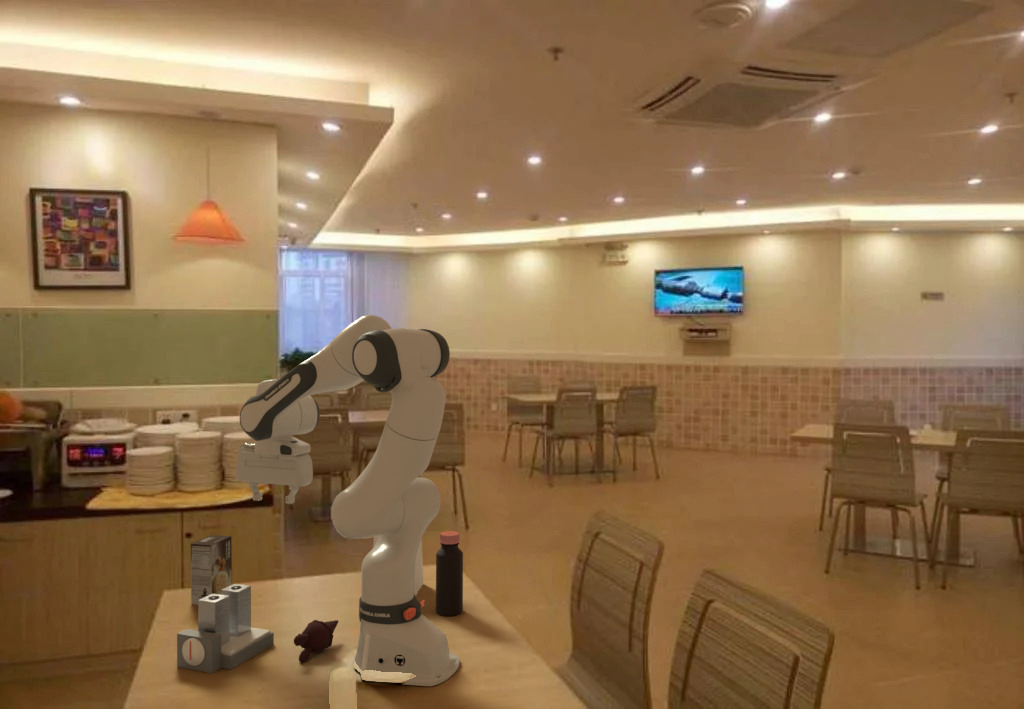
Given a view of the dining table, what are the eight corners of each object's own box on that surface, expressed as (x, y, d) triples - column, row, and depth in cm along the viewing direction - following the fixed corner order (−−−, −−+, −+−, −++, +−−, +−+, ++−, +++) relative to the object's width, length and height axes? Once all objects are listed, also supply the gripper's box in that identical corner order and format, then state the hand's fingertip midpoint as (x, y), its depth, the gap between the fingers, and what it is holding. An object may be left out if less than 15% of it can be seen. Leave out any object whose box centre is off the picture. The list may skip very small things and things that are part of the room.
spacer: (251, 629, 170) (250, 585, 169) (237, 637, 165) (237, 591, 165) (235, 627, 171) (234, 583, 171) (221, 634, 167) (221, 589, 167)
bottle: (431, 609, 192) (432, 531, 191) (456, 605, 195) (457, 528, 194) (441, 618, 186) (442, 538, 185) (466, 614, 189) (467, 535, 188)
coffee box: (211, 593, 203) (211, 534, 203) (232, 595, 202) (232, 535, 201) (190, 605, 194) (190, 543, 194) (212, 607, 193) (212, 544, 192)
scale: (273, 643, 170) (273, 613, 170) (219, 676, 153) (219, 642, 153) (223, 635, 174) (223, 605, 174) (165, 665, 158) (165, 633, 158)
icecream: (320, 608, 175) (279, 637, 161) (346, 604, 172) (306, 634, 158) (328, 636, 175) (287, 668, 161) (354, 633, 172) (315, 666, 158)
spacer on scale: (229, 641, 163) (229, 595, 163) (215, 649, 159) (215, 602, 159) (213, 638, 164) (212, 593, 164) (198, 646, 160) (198, 599, 160)
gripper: (229, 444, 184) (230, 500, 184) (301, 449, 177) (301, 507, 177) (247, 441, 190) (247, 495, 190) (316, 445, 183) (316, 502, 183)
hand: (273, 501), depth 183 cm, fingers open, 8 cm apart
